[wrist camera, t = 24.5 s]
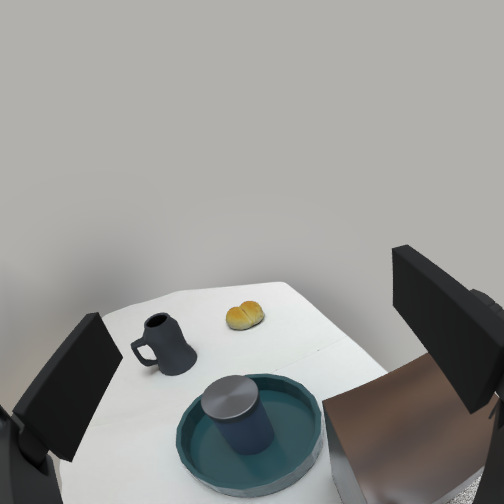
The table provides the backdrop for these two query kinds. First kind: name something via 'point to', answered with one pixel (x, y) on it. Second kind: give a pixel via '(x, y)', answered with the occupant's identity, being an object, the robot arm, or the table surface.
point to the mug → (165, 345)
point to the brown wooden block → (406, 438)
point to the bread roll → (244, 315)
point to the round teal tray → (266, 462)
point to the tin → (238, 414)
